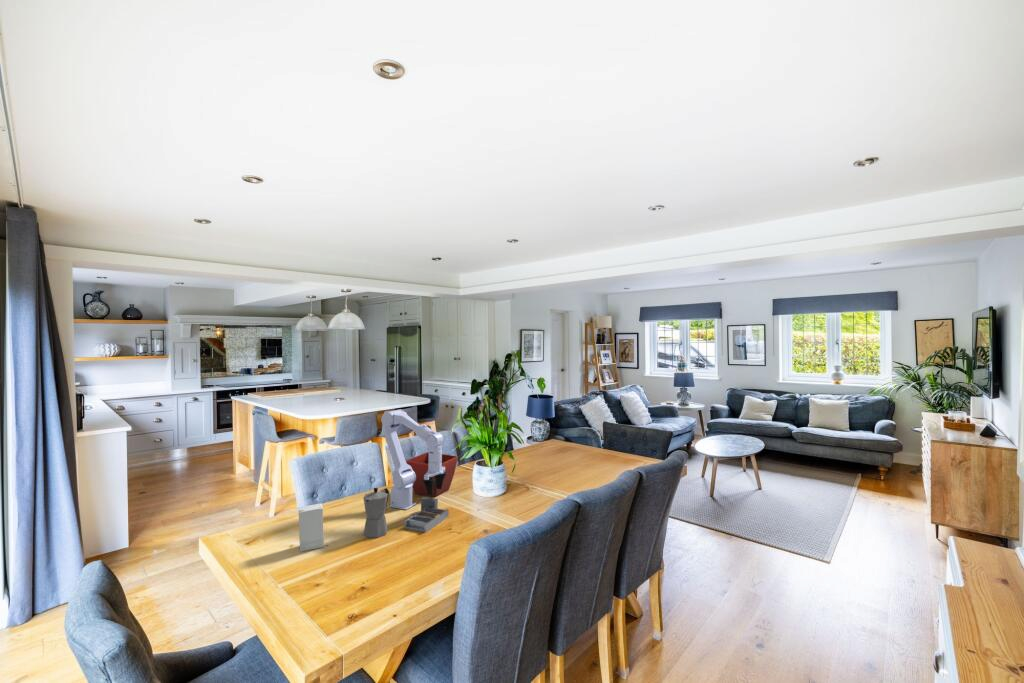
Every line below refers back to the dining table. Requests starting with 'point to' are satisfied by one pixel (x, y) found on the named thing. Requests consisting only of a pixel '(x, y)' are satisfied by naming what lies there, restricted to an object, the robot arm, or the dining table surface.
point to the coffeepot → (375, 513)
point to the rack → (426, 519)
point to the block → (429, 503)
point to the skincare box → (311, 527)
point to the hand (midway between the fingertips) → (434, 491)
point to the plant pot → (421, 468)
